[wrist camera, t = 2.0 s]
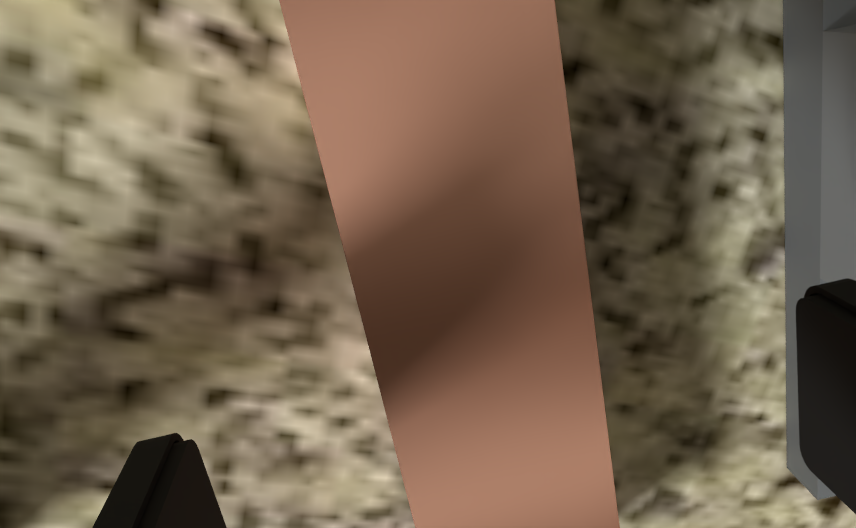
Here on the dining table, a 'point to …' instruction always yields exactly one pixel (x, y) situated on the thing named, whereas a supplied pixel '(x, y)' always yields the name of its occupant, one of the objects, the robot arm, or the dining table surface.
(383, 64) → the beam
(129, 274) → the dining table surface
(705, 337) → the dining table surface
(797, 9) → the ridge stand
